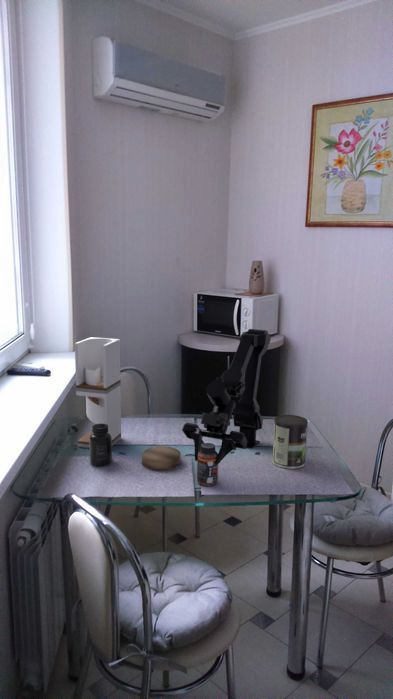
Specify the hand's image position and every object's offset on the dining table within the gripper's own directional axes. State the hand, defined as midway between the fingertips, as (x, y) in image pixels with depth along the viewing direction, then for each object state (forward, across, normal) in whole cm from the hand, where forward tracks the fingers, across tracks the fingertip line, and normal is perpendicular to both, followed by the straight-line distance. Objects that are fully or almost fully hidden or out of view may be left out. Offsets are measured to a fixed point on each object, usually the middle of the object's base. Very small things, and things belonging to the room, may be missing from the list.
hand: (205, 462), depth 155 cm
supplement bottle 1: (+6, -35, +4) cm, 35 cm away
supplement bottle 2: (+4, 0, +6) cm, 7 cm away
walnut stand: (0, -18, +10) cm, 21 cm away
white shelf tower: (-4, -45, +14) cm, 47 cm away
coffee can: (-14, +17, +23) cm, 32 cm away
